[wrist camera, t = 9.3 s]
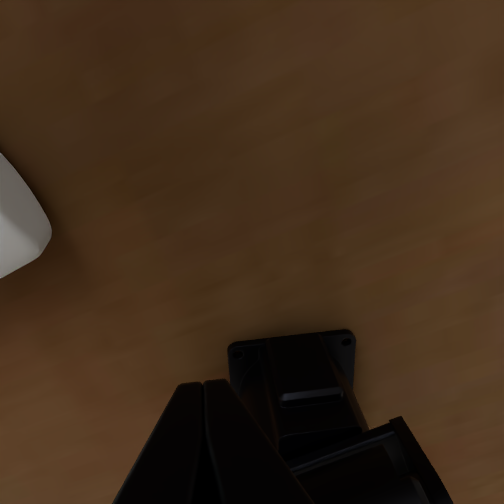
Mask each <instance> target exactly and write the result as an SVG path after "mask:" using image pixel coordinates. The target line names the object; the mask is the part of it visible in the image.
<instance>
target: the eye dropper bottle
mask: <svg viewBox="0 0 504 504" xmlns="http://www.w3.org/2000/svg"><path fill="white" fill-rule="evenodd" d="M51 235H52V228H51V225H50V222H49V220H48V218H47V216H46V214H45V213H44V211H43V209H42V207H41V206H40V204H39V202H38V201H37V199H36V198H35V196H34V194H33V193H32V191H31V190H30V188H29V187H28V186H27V184H26V183H25V181H24V180H23V179H22V177H21V176H20V175H19V173H18V172H17V171H16V170H15V169H14V167H13V166H12V165H11V164H10V163H9V161H8V160H7V159H6V158H5V157H4V156H3V155H2V154H1V153H0V279H1V278H3V277H4V276H6V275H8V274H10V273H12V272H13V271H15V270H17V269H19V268H20V267H22V266H24V265H26V264H28V263H29V262H31V261H33V260H35V259H36V258H38V257H39V256H40V255H41V253H42V252H43V250H44V249H45V247H46V246H47V244H48V243H49V241H50V239H51Z"/></svg>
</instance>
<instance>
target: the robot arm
mask: <svg viewBox="0 0 504 504" xmlns="http://www.w3.org/2000/svg"><path fill="white" fill-rule="evenodd" d="M345 338H348V339H347V340H346V341H342V340H343V339H345ZM355 346H356V339H355V336H354V334H353V333H352V332H351V331H350V330H346V329H344V330H335V331H326V332H317V333H308V334H299V335H290V336H281V337H273V338H265V339H256V340H247V341H238V342H234V343H232V344H230V345H229V347H228V350H227V352H228V364H229V376H230V383H229V382H228V381H227V380H226V379H216V380H207V381H205V382H204V383H203V385H202V383H201V382H191V383H182V384H180V385H178V387H177V388H176V390H175V392H174V393H173V395H172V397H171V399H170V401H169V402H168V404H167V406H166V408H165V410H164V411H163V413H162V415H161V417H160V419H159V420H158V422H157V424H156V426H155V428H154V429H153V431H152V433H151V435H150V437H149V438H148V440H147V442H146V444H145V445H144V447H143V449H142V451H141V453H140V454H139V456H138V458H137V460H136V462H135V463H134V465H133V467H132V469H131V471H130V472H129V474H128V476H127V478H126V480H125V481H124V483H123V485H122V487H121V489H120V490H119V492H118V494H117V496H116V497H115V499H114V501H113V503H112V504H453V502H452V500H451V498H450V496H449V494H448V492H447V490H446V488H445V486H444V485H443V483H442V481H441V479H440V478H439V476H438V474H437V473H436V471H435V469H434V468H433V466H432V465H431V463H430V461H429V460H428V458H427V457H426V455H425V453H424V452H423V450H422V449H421V447H420V445H419V444H418V442H417V440H416V439H415V437H414V436H413V434H412V432H411V431H410V429H409V428H408V426H407V424H406V423H405V421H404V420H403V418H402V416H399V417H396V418H394V419H391V420H389V422H390V423H387V424H384V425H382V426H379V427H376V428H374V429H371V430H370V429H369V427H368V425H367V423H366V420H365V418H364V416H363V413H362V411H361V409H360V407H359V404H358V402H357V400H356V397H355V395H354V393H353V376H354V361H355ZM235 351H241V352H240V353H238V354H235V353H234V352H235Z"/></svg>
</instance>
